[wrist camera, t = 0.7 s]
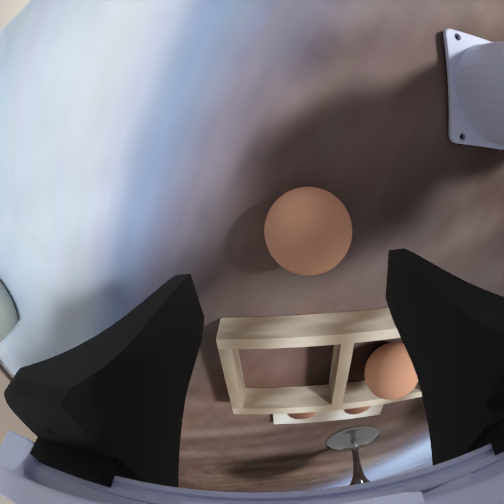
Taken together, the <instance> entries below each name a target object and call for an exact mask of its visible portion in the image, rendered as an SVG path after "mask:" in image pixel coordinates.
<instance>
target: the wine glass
mask: <svg viewBox="0 0 504 504" xmlns="http://www.w3.org/2000/svg"><path fill="white" fill-rule="evenodd" d="M379 435H380V431H379V429H378V428H376V427H372V426H358V427H352V428H348V429H345V430H342V431H340V432H337V433H335V434H334V435H332V436H331V437H330V438H329V439H328V440H327V441H326V445H327V447H328V448H329V449H331V450H335V451H351V450H352V455H353V478H352V481H351V483H350V485H355V484H361V483H367V482H370V481H369V480H368V479H367V478H366V477H365V475H364V473H363V470H362V467H361V463H360V459H359V454H358V449H359V448H362V447H365V446H367V445H369V444H371V443H372V442H374V441H375V440H376V439H377V438H378V437H379Z"/></svg>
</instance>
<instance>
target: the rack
mask: <svg viewBox="0 0 504 504" xmlns="http://www.w3.org/2000/svg"><path fill="white" fill-rule="evenodd" d="M393 338H401V337H400V335H399V332H398V330H397V328H396V326H395V324H394V321H393V319H392V316H391V313H390V310H389V308H383V309H373V310H362V311H350V312H338V313H324V314H308V315H290V316H269V317H238V318H221V319H220V323H219V328H218V332H217V337H216V342H217V347H218V351H219V355H220V360H221V364H222V368H223V373H224V377H225V381H226V385H227V389H228V393H229V397H230V401H231V405H232V409H233V413H234V414H273V420H274V424H291V423H309V422H322V421H333V420H342V419H351V418H358V417H366V416H372V415H379V414H380V412H381V409H382V407H383V404H385V403H391V402H397V401H402V400H407V399H412V398H417V397H422V393H421V389H420V385H419V382H418V383H417V385H416V386H415V388H414V389H413V390H412V391H411V392H410V393H408V394H407V395H406V396H404V397H402V398H399V399H394V400H386V399H382V398H379V397H377V396H376V395H374V394H373V393H372V392H371V391H370V390H369V388H368V386H367V384H366V381H357V382H348V383H347V379H348V374H349V369H350V364H351V358H352V353H353V347H354V343H359V342H368V341H377V340H385V339H393ZM325 345H334V346H333V355H332V363H331V371H330V378H329V384H328V385H315V386H300V387H278V388H245V384H244V378H243V372H242V367H241V361H240V355H239V349H270V348H293V347H310V346H325Z"/></svg>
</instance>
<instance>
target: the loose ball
mask: <svg viewBox="0 0 504 504" xmlns="http://www.w3.org/2000/svg"><path fill="white" fill-rule="evenodd" d="M264 236H265V242H266V245H267V248H268V250H269V252H270V254H271V255H272V257H273V258H274V259H275V260H276V262H277V263H278V264H279V265H281V266H282V267H283V268H285V269H286V270H288V271H290V272H293V273H295V274H299V275H318V274H322V273H324V272H327V271H329V270H331V269H332V268H334V267H335V266H336V265H338V264H339V263H340V262H341V261H342V259H343V258H344V257H345V255H346V253H347V252H348V250H349V247H350V244H351V240H352V223H351V219H350V216H349V213H348V211H347V209H346V208H345V206H344V205H343V203H342V202H341V201H340V200H339V199H338V198H337V197H336V196H334V195H333V194H331V193H330V192H328V191H326V190H323V189H320V188H317V187H300V188H295V189H293V190H290V191H288V192H286V193H284V194H283V195H282V196H280V197H279V198H278V199H277V200H276V201H275V202H274V204H273V205H272V206H271V208H270V210H269V212H268V214H267V217H266V220H265V226H264Z"/></svg>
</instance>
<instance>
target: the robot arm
mask: <svg viewBox="0 0 504 504" xmlns="http://www.w3.org/2000/svg"><path fill="white" fill-rule="evenodd" d="M455 35H456V36H457V38H458V40H456V38H455ZM443 38H444V45H445V54H446V65H447V78H448V100H449V139H450V140H451V141H452V142H454V143H457V144H466V145H474V146H481V147H488V148H495V149H501V150H504V41H501V42H490V41H488V40H485V39H482V38H479V37H476V36H473V35H470V34H467V33H463V32H460V31H457V30H453V29H446V30H444V32H443ZM461 133H462V136H463V137H462V139H460V134H461ZM386 300H387V303H388V307H389V310H390V313H391V316H392V319H393V321H394V324H395V326H396V328H397V330H398V332H399V335H400V337H401V339H402V341H403V343H404V346H405V348H406V350H407V352H408V355H409V357H410V359H411V361H412V364H413V366H414V369H415V372H416V374H417V378H418V382H419V385H420V389H421V393H422V397H423V401H424V406H425V410H426V415H427V421H428V427H429V433H430V440H431V449H432V461H433V466H430V467H427V468H424V469H420V470H417V471H413V472H410V473H406V474H402V475H398V476H394V477H390V478H386V479H381V480H377V481H372V482H367V483H361V484H355V485H349V486H343V487H336V488H328V489H319V490H309V491H296V492H275V493H239V492H218V491H205V490H194V489H185V488H178V466H179V448H180V436H181V427H182V418H183V411H184V404H185V398H186V393H187V389H188V385H189V382H190V378H191V375H192V371H193V368H194V364H195V361H196V357H197V354H198V350H199V347H200V343H201V338H202V332H203V324H204V315H203V312H202V309H201V306H200V303H199V300H198V297H197V293H196V290H195V287H194V284H193V280H192V277H191V274H186V275H176V276H174V277H172V278H171V279H170V280H168V281H167V282H166V283H165V284H163V285H162V286H161V287H160V288H159V289H157V290H156V291H155V292H154V293H153V294H151V295H150V296H149V297H148V298H147V299H146V300H144V301H143V302H142V303H141V304H140V305H138V306H137V307H136V308H135V309H133V310H132V311H131V312H129V313H128V314H127V315H126V316H124V317H123V318H122V319H121V320H119V321H118V322H116V323H115V324H114V325H112V326H111V327H109V328H108V329H106V330H105V331H103V332H101V333H100V334H98V335H97V336H95V337H93V338H91V339H89V340H88V341H86V342H84V343H82V344H80V345H79V346H77V347H75V348H73V349H71V350H68V351H66V352H64V353H62V354H60V355H57V356H55V357H52V358H50V359H47V360H44V361H41V362H38V363H35V364H32V365H29V366H26V367H22V368H20V369H19V371H18V372H17V373H16V375H15V376H14V378H13V379H12V381H11V382H10V384H9V385H8V387H7V389H6V390H5V393H4V396H5V399H6V402H7V404H8V405H9V407H10V408H11V409H12V411H13V412H14V413H15V414H16V415H17V416H18V417H19V418H20V419H21V420H22V421H23V423H24V424H25V425H26V426H27V427H28V428H29V429H30V430H31V431H32V432H33V433H34V434H36V435H37V436H38V438H37V440H36V442H35V443H34V442H32V441H31V440H29V439H28V438H25V437H23V436H21V435H19V434H17V433H14V432H12V431H8V432H7V434H6V436H5V438H4V440H3V442H2V444H1V446H0V494H1V495H3V496H4V497H6V498H7V499H9V500H10V501H12V502H13V503H15V504H504V297H502V296H499V295H497V294H494V293H491V292H489V291H486V290H484V289H481V288H479V287H477V286H474V285H472V284H470V283H468V282H466V281H464V280H462V279H460V278H458V277H456V276H454V275H452V274H450V273H449V272H447V271H445V270H443V269H441V268H440V267H438V266H436V265H434V264H433V263H431V262H429V261H427V260H426V259H424V258H422V257H420V256H418V255H417V254H415V253H413V252H411V251H409V250H406V249H397V250H389V256H388V273H387V287H386Z"/></svg>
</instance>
